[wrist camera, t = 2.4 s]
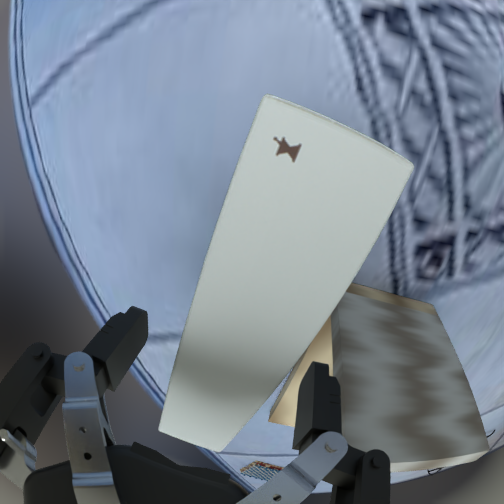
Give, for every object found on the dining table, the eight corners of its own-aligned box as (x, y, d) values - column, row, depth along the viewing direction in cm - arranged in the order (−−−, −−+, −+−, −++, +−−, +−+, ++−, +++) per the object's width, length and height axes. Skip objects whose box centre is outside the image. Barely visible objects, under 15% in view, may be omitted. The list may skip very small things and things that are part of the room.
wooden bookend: (432, 304, 25) (489, 449, 9) (342, 423, 36) (337, 524, 21) (334, 277, 26) (344, 461, 10) (270, 411, 37) (246, 516, 21)
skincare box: (257, 325, 30) (219, 455, 16) (211, 306, 30) (149, 427, 16) (347, 138, 20) (423, 165, 6) (285, 112, 20) (241, 81, 6)
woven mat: (297, 468, 48) (296, 475, 47) (276, 477, 53) (275, 483, 52) (256, 457, 48) (254, 465, 47) (239, 467, 53) (237, 474, 51)
